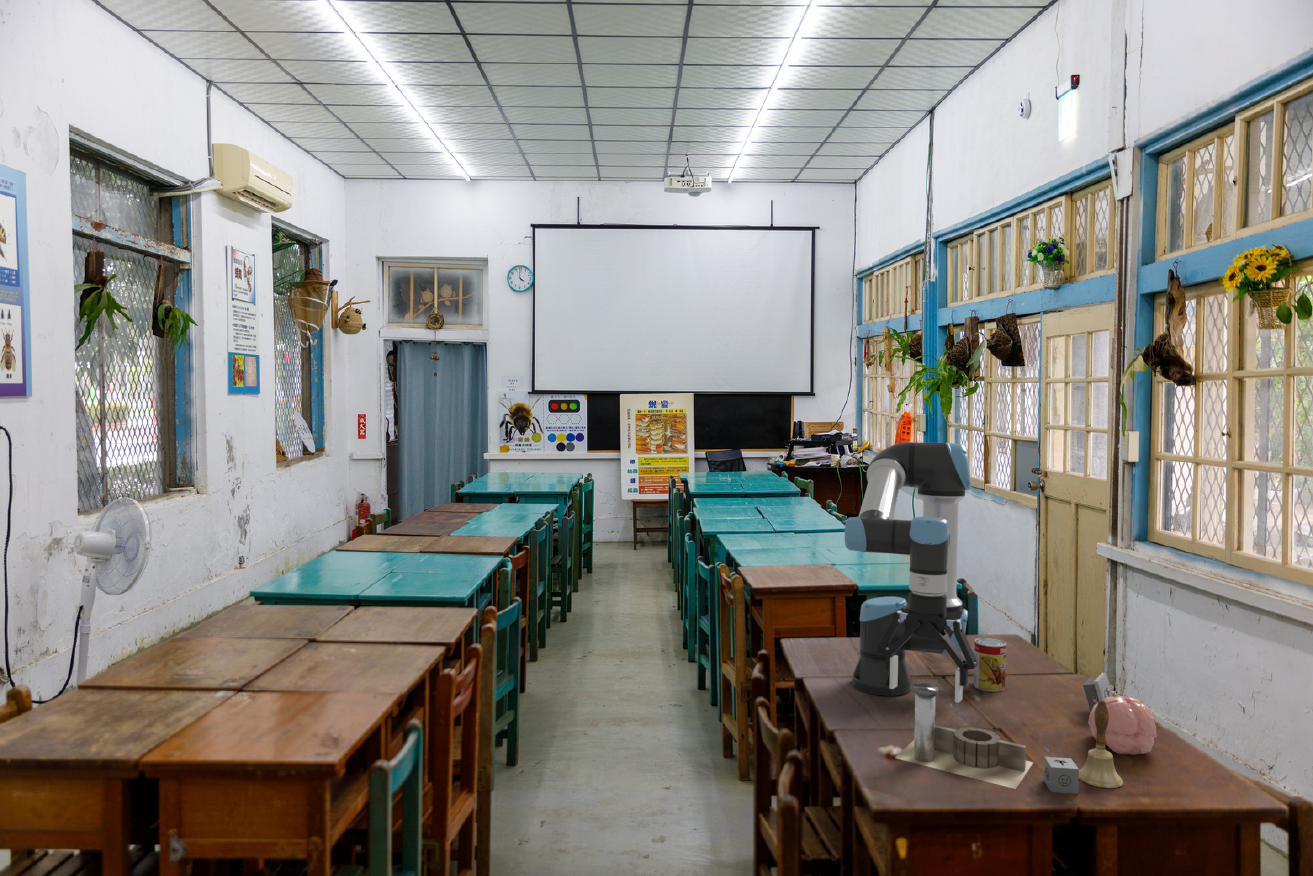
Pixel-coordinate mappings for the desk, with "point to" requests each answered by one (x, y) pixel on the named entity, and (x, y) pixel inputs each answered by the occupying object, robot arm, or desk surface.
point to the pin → (924, 721)
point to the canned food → (990, 664)
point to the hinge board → (968, 771)
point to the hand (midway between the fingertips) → (925, 694)
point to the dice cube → (1061, 775)
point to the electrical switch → (1097, 689)
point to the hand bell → (1100, 756)
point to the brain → (1127, 726)
